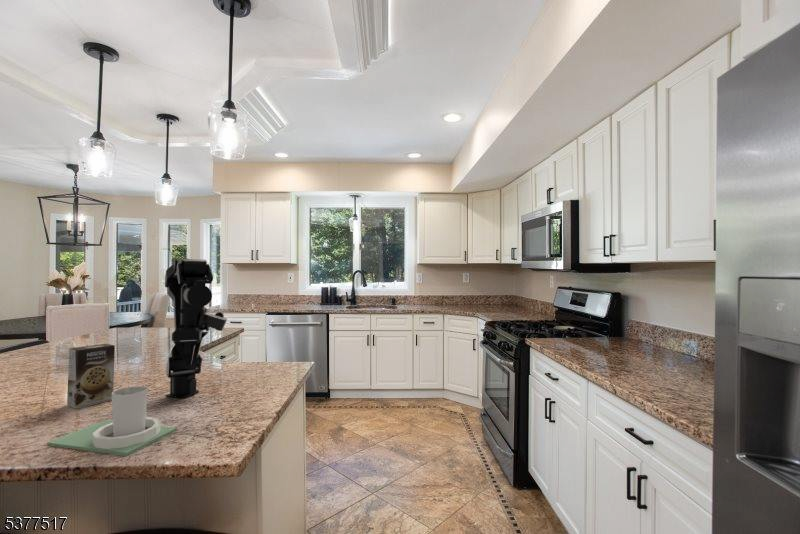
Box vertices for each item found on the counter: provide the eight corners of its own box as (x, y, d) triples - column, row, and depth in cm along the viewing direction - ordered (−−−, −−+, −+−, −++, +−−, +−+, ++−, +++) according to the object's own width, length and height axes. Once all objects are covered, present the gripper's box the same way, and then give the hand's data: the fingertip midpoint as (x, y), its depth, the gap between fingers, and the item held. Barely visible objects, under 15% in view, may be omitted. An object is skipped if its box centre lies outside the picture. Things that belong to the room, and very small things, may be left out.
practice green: (47, 445, 82) (47, 433, 82) (105, 422, 94) (105, 411, 94) (126, 455, 77) (126, 443, 77) (177, 430, 90) (177, 419, 90)
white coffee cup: (128, 442, 81) (129, 395, 82) (102, 439, 83) (103, 393, 83) (154, 430, 88) (155, 386, 88) (129, 427, 89) (130, 385, 89)
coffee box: (75, 409, 103) (76, 350, 103) (66, 405, 106) (67, 347, 107) (114, 400, 111) (115, 344, 111) (105, 396, 114) (106, 342, 114)
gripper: (220, 306, 98) (220, 367, 98) (228, 301, 115) (227, 353, 115) (171, 307, 94) (170, 370, 94) (187, 302, 112) (186, 355, 112)
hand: (192, 361), depth 104 cm, fingers open, 9 cm apart
